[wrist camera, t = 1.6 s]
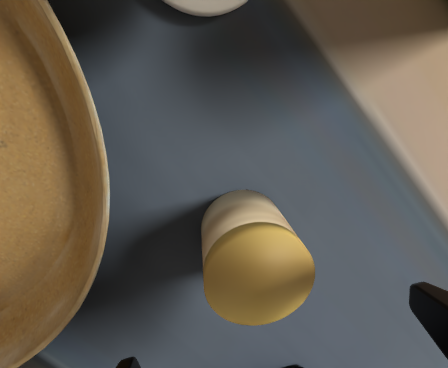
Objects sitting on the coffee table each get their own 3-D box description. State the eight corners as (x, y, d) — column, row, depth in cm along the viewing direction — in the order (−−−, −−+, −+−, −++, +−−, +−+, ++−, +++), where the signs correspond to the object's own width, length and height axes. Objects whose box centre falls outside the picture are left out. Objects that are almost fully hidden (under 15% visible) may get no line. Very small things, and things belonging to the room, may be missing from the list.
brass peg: (285, 250, 15) (319, 310, 11) (211, 268, 15) (217, 336, 11) (274, 181, 13) (309, 219, 9) (192, 200, 13) (190, 249, 9)
